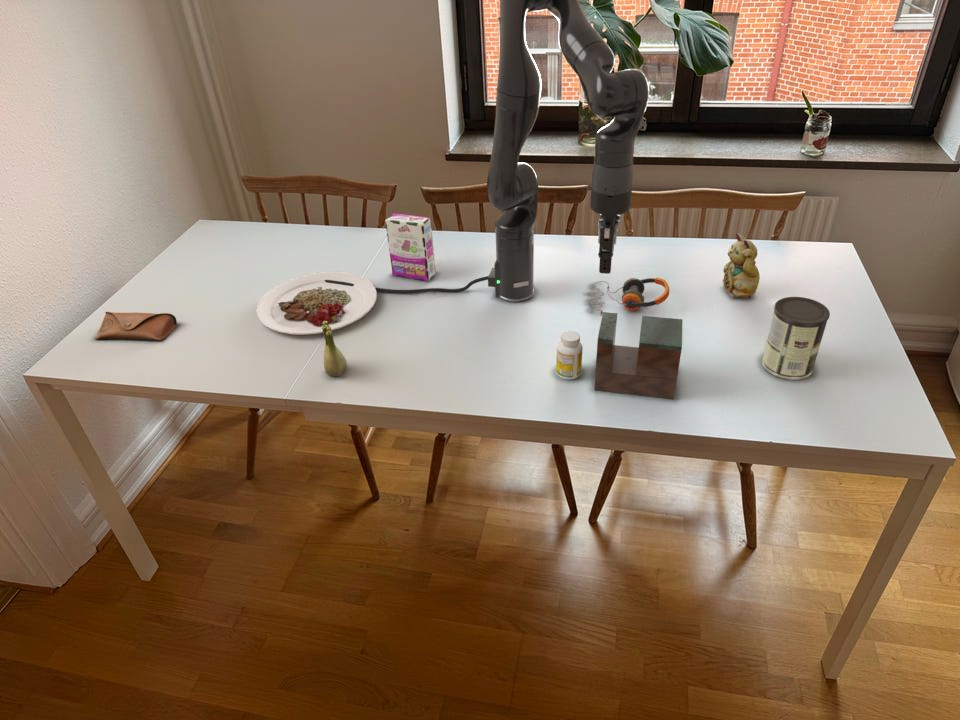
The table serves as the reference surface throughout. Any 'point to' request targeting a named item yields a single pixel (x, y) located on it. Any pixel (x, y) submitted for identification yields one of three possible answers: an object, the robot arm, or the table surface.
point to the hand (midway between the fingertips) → (606, 262)
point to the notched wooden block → (639, 358)
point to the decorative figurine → (741, 269)
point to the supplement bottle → (569, 355)
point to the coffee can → (794, 337)
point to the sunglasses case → (136, 326)
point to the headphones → (634, 294)
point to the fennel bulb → (332, 354)
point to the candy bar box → (411, 246)
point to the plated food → (316, 303)
